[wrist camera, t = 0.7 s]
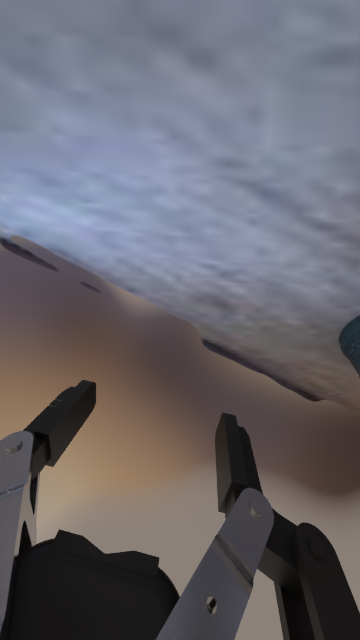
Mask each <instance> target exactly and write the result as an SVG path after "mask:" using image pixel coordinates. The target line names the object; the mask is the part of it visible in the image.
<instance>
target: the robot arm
mask: <svg viewBox="0 0 360 640" xmlns="http://www.w3.org/2000/svg"><path fill="white" fill-rule="evenodd" d="M95 403H96V383H95V382H90V381H86V380H82V381H81V382H80V383H79V384H78V385H77V386H76V387H70V388H68V389H66V390H65V391H63V392H62V393H61V394H60V395H59V396H58V397H57V398H56V399H55V400H53V402H51V403H50V405H49V406H47V408H46V409H45V410H43V411H42V412H41V413H40V415H38V416H37V417H36V418H35V419H34V420H33V421H32V422H31V424H30V425H28V426H27V427H26V428H25V429H24V430H23V431H19V432H15V433H13V434H10V435H8V436H7V437H5V438H4V439H2V440H1V441H0V640H234V639H235V636H236V633H237V630H238V628H239V625H240V622H241V619H242V616H243V614H244V611H245V608H246V606H247V603H248V600H249V597H250V594H251V591H252V588H253V578H254V575H255V572H256V570H257V569H259V570H260V571H261V572H262V573H264V574H265V575H266V576H268V577H269V578H270V579H272V580H273V581H274V585H275V591H276V597H277V603H278V608H279V615H280V621H281V627H282V633H283V638H284V640H360V613H359V610H358V608H357V605H356V603H355V600H354V598H353V595H352V592H351V590H350V587H349V585H348V582H347V580H346V577H345V575H344V572H343V569H342V567H341V565H340V562H339V559H338V557H337V554H336V552H335V550H334V548H333V546H332V544H331V543H330V541H329V540H328V539H327V538H326V536H325V535H324V534H323V533H322V532H321V531H320V530H319V529H318V528H316V527H315V526H313V525H312V524H309V523H301V524H299V525H298V526H296V525H295V524H293V523H292V522H290V521H289V520H287V519H286V518H284V517H283V516H281V515H280V514H278V513H277V512H276V511H275V510H274V509H273V508H272V507H271V505H270V503H269V502H268V500H267V499H266V497H265V496H264V495H263V492H262V489H261V486H260V481H259V477H258V472H257V468H256V464H255V460H254V457H253V451H252V448H251V443H250V438H249V435H248V434H247V432H246V430H245V429H244V427H240V426H238V424H237V419H236V416H235V415H231V414H227V413H222V415H221V418H220V421H219V424H218V427H217V430H216V435H215V449H216V471H217V491H218V511H219V512H223V513H225V516H226V520H225V522H224V524H223V525H222V527H221V529H220V531H219V532H218V534H217V535H216V536H215V538H214V540H213V541H212V543H211V545H210V546H209V548H208V550H207V552H206V553H205V555H204V557H203V559H202V560H201V562H200V564H199V566H198V567H197V569H196V571H195V572H194V574H193V576H192V578H191V579H190V581H189V583H188V585H187V586H186V588H185V590H184V592H183V593H182V595H181V597H180V596H179V594H178V592H177V590H176V588H175V586H174V584H173V583H172V581H171V580H170V578H169V577H168V576H167V575H166V574H165V572H164V571H163V570H161V569H160V568H159V567H158V563H159V558H158V557H155V556H151V555H148V554H144V553H141V552H137V551H127V552H120V553H110V554H105V553H103V552H102V551H100V550H99V549H98V548H97V547H96V546H94V545H93V544H92V543H91V542H90V541H88V540H87V539H86V538H85V537H83V536H81V535H77V534H73V533H70V532H66V531H63V530H59V531H58V533H57V535H56V537H55V539H50V540H46V541H43V542H41V543H38V544H36V514H37V502H38V491H39V479H40V471H41V470H42V469H43V468H44V466H45V465H48V466H51V467H53V466H54V465H55V463H56V462H57V461H58V459H59V458H60V456H61V455H62V454H63V452H64V451H65V449H66V448H67V446H68V445H69V444H70V442H71V441H72V439H73V438H74V436H75V435H76V434H77V432H78V431H79V429H80V428H81V427H82V425H83V424H84V422H85V421H86V419H87V418H88V417H89V415H90V413H91V412H92V411H93V409H94V406H95Z"/></svg>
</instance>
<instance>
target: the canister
mask: <svg viewBox="0 0 360 640" xmlns="http://www.w3.org/2000/svg"><path fill="white" fill-rule="evenodd" d="M339 342H340V345H341V349H342V352H343V353H344V355H345V356H346V357H347V358H348V359H349V360H350V362H351V363H352V365H353V367H354V368H355V370H356V371H357V373H358V374H359V377H360V316H359V317H357V318H355V319H354V320H353V321H351V322H350V323H349V324H348V325H347V326H346V327H345V328H344V329H343V331H342V332H341V334H340V338H339Z"/></svg>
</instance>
